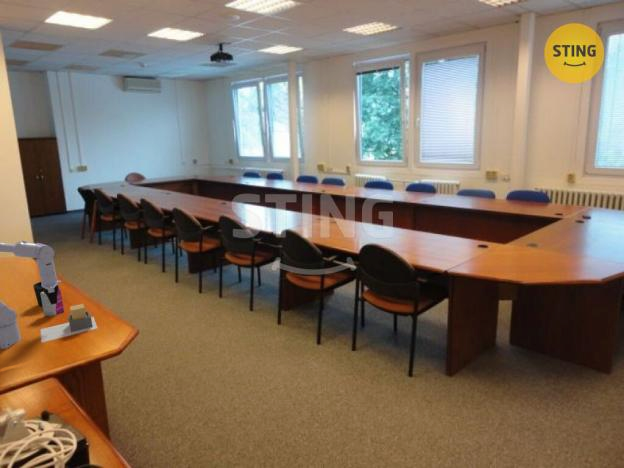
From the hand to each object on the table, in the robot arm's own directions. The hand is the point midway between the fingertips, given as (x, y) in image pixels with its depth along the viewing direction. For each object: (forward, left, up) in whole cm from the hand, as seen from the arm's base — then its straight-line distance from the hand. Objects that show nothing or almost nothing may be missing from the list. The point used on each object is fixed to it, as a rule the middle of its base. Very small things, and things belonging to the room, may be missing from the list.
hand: (54, 303), depth 184 cm
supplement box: (+12, +10, -11) cm, 19 cm away
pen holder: (+25, +22, -11) cm, 35 cm away
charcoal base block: (-2, -11, -9) cm, 15 cm away
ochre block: (-2, -11, -6) cm, 13 cm away
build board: (-4, -8, -10) cm, 14 cm away
